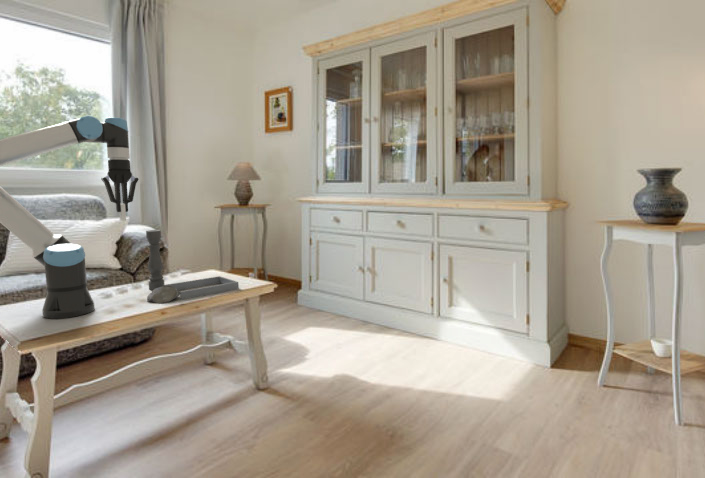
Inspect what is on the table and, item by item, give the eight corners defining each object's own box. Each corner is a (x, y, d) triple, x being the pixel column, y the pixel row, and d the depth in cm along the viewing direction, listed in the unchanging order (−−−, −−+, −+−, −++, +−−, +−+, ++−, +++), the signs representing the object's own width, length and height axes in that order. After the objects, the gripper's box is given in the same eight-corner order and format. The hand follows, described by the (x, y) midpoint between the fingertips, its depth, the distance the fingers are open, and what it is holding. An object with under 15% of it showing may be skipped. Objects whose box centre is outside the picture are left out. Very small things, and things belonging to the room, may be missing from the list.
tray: (181, 299, 167) (180, 291, 167) (164, 291, 179) (164, 284, 179) (238, 288, 184) (238, 281, 184) (220, 282, 196) (219, 276, 196)
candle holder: (167, 286, 188) (164, 229, 185) (159, 290, 182) (156, 231, 179) (154, 286, 188) (150, 229, 185) (145, 290, 182) (142, 231, 179)
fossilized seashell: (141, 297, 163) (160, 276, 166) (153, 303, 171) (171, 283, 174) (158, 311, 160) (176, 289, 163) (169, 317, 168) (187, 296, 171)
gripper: (133, 160, 173) (137, 218, 176) (97, 159, 164) (101, 220, 167) (140, 159, 168) (143, 220, 171) (102, 158, 159) (107, 222, 162)
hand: (123, 220), depth 169 cm, fingers closed
